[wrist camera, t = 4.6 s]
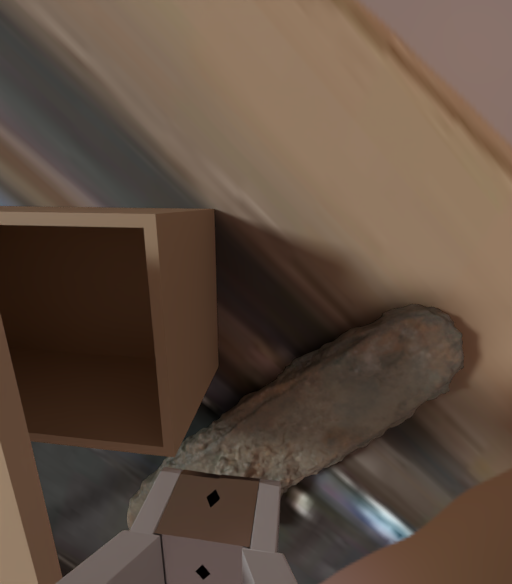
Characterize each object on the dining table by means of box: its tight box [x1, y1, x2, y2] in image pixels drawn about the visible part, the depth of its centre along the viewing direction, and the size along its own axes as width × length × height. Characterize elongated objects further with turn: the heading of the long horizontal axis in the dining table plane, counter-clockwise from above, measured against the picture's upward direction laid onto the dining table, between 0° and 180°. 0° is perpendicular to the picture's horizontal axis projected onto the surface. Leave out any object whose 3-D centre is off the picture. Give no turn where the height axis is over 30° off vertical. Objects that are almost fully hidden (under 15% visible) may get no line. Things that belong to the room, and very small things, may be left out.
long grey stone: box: [127, 304, 464, 530], centre depth 26 cm, size 35×5×10 cm
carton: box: [0, 206, 219, 457], centre depth 21 cm, size 13×20×10 cm, turn 89°
